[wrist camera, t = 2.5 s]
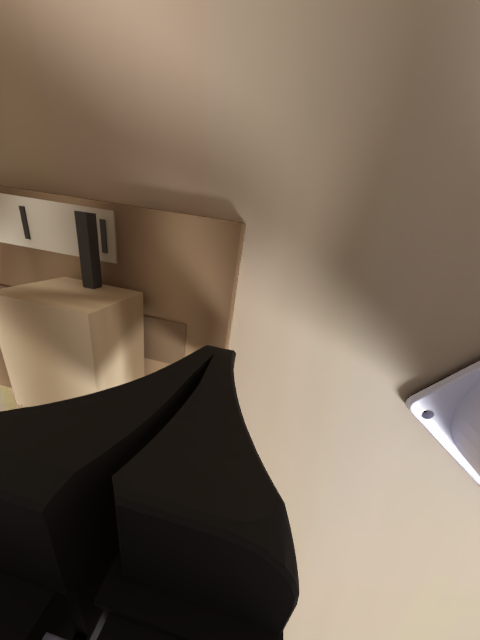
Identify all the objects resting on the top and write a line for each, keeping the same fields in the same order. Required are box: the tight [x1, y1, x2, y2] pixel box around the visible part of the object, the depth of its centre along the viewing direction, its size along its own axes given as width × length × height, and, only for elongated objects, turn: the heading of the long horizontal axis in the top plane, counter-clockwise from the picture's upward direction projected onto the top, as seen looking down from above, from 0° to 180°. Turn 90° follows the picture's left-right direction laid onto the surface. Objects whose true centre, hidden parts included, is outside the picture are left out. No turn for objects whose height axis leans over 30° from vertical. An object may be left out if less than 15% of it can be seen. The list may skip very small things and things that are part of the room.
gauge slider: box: [0, 211, 144, 407], centre depth 9 cm, size 4×8×3 cm, turn 172°
